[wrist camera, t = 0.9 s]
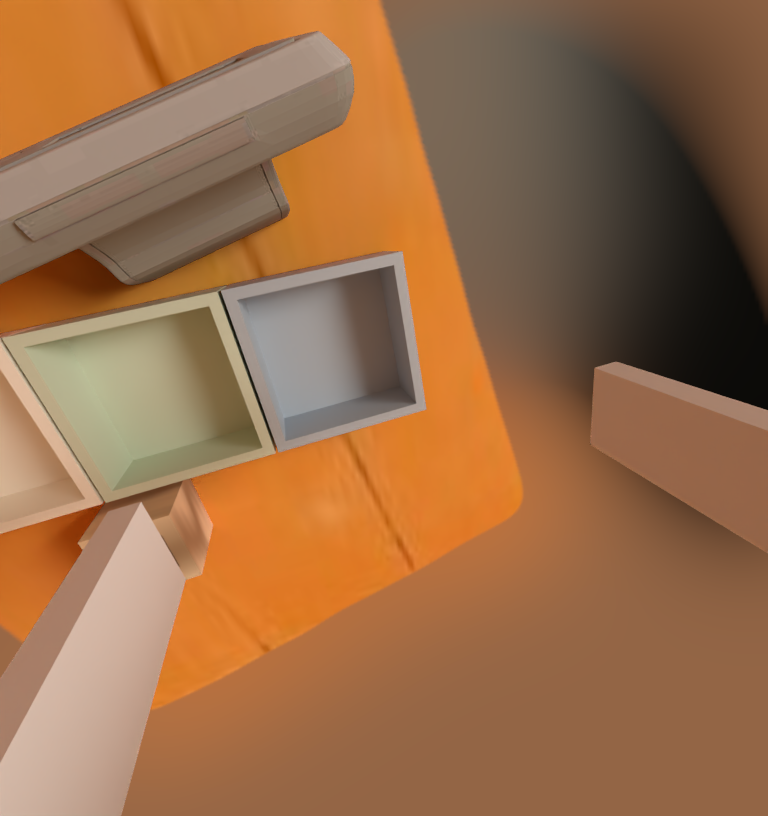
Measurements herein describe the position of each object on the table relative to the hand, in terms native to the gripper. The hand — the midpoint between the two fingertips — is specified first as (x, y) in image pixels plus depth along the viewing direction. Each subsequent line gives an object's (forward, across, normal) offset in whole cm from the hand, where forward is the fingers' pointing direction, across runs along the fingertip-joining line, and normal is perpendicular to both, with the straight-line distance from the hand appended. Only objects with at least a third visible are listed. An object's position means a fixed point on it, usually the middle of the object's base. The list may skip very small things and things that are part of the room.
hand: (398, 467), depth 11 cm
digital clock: (+17, -6, +11) cm, 21 cm away
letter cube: (+17, -14, -9) cm, 24 cm away
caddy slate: (+17, 0, 0) cm, 17 cm away
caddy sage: (+17, -10, 0) cm, 19 cm away
